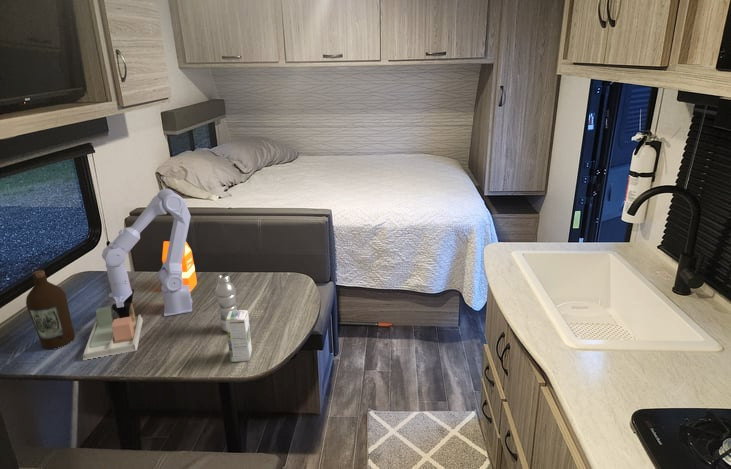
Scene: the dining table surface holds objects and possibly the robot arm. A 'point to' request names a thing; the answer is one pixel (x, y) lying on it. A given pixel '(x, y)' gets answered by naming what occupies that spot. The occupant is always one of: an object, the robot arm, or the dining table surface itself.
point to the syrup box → (238, 335)
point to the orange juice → (184, 265)
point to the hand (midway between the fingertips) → (127, 316)
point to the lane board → (113, 344)
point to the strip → (103, 327)
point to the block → (122, 328)
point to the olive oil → (49, 312)
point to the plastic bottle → (225, 297)
